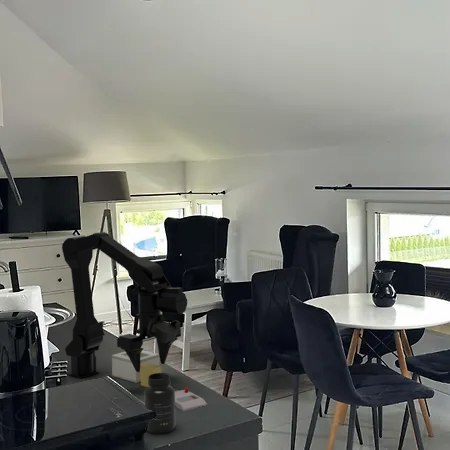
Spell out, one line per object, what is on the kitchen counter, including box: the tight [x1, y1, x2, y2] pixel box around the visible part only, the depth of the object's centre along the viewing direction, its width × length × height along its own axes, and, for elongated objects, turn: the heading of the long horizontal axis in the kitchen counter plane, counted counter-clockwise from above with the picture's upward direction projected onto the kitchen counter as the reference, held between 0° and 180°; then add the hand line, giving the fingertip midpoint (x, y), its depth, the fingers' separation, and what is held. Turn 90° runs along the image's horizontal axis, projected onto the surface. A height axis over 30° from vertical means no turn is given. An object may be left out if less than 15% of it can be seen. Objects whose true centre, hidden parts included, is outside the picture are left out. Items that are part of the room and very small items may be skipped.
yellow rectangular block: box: [140, 363, 163, 388], centre depth 167 cm, size 3×5×6 cm, turn 50°
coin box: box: [111, 349, 161, 384], centre depth 176 cm, size 9×10×6 cm
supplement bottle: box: [143, 372, 176, 435], centre depth 138 cm, size 7×7×12 cm
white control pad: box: [173, 386, 208, 412], centre depth 155 cm, size 7×16×3 cm, turn 34°
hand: (150, 367), depth 167 cm, fingers open, 9 cm apart
